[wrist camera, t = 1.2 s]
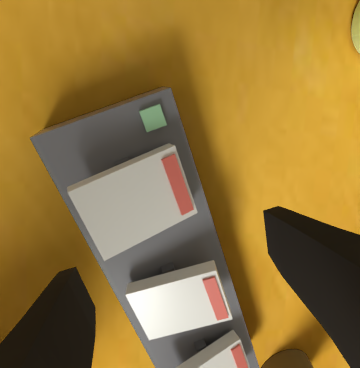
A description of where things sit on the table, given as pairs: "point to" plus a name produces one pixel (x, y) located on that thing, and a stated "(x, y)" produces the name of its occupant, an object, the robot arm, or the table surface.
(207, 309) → the rocker
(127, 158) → the strip
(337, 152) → the table surface
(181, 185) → the rocker
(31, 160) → the table surface
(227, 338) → the rocker
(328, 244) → the robot arm
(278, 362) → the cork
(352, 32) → the tube
